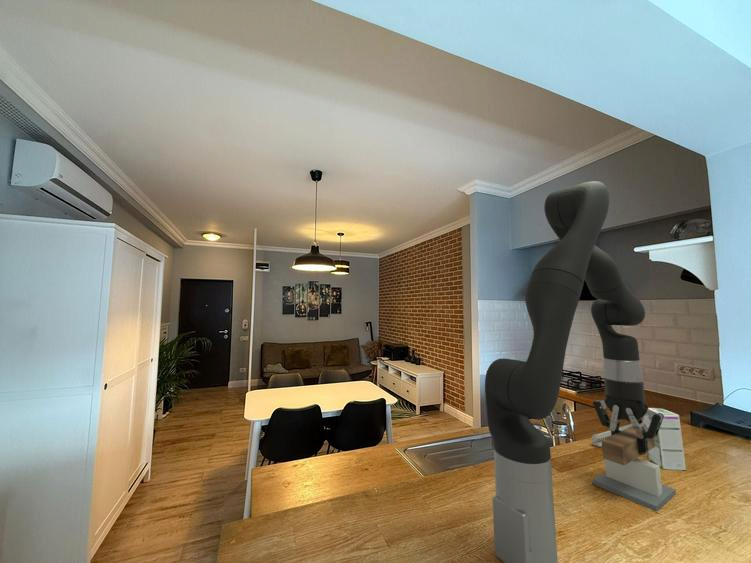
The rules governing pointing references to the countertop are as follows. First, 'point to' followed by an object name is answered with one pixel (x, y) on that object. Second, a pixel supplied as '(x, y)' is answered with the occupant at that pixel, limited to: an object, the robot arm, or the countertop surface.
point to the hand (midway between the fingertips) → (629, 449)
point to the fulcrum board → (635, 492)
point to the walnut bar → (623, 446)
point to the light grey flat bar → (605, 435)
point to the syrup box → (667, 442)
